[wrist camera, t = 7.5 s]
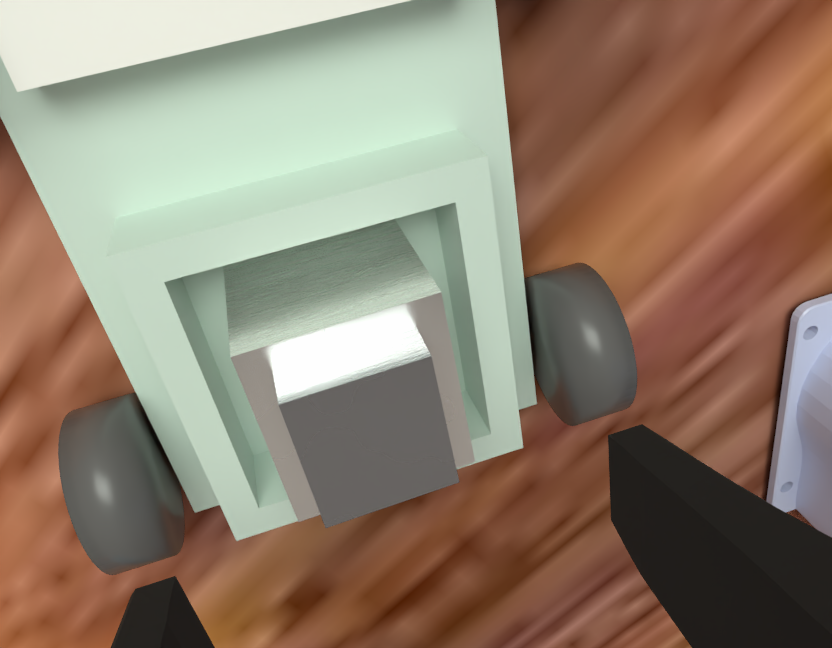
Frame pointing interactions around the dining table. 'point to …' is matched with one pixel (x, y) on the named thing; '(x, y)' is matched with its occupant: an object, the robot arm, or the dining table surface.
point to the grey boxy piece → (349, 371)
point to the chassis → (276, 226)
